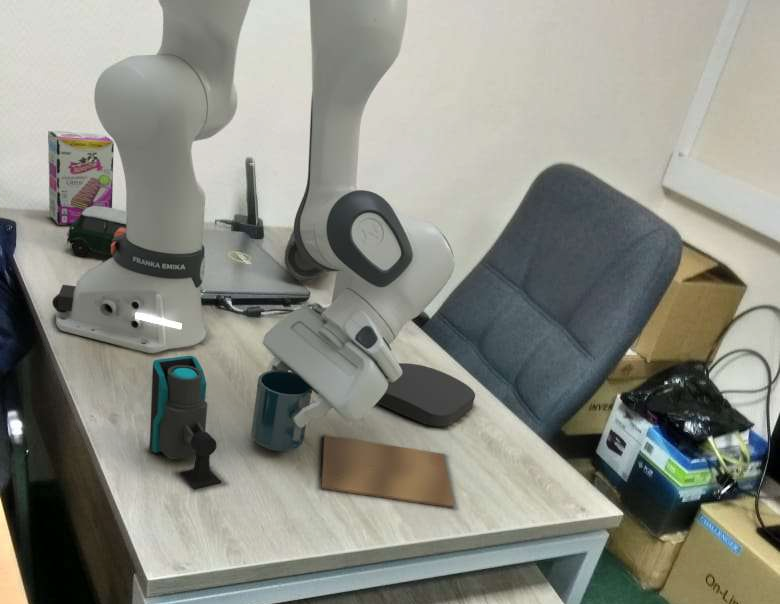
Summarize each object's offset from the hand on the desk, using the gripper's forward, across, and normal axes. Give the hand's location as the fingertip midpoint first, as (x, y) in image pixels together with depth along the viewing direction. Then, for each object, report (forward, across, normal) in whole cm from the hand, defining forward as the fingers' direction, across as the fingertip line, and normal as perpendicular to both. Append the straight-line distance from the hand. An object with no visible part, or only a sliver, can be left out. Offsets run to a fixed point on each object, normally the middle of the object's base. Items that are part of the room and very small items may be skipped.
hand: (278, 407), depth 103 cm
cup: (+3, 0, +4) cm, 5 cm away
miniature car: (0, -69, +10) cm, 70 cm away
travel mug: (-18, -30, +27) cm, 45 cm away
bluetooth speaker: (-26, -60, +35) cm, 75 cm away
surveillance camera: (+13, +1, -4) cm, 14 cm away
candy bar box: (0, -89, +10) cm, 89 cm away
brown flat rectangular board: (-4, +10, +12) cm, 16 cm away
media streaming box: (-17, -5, +26) cm, 31 cm away
